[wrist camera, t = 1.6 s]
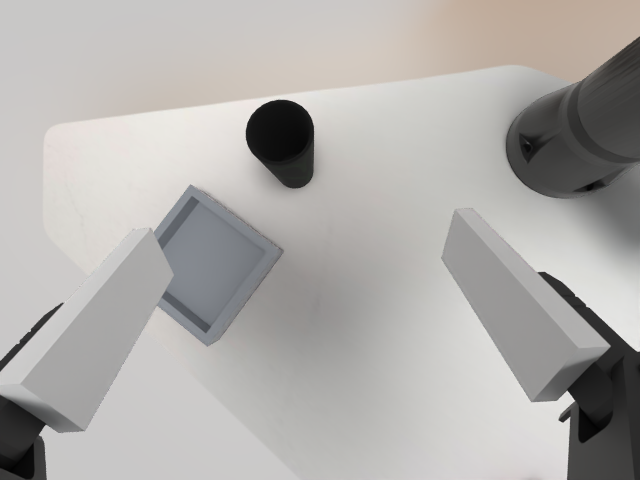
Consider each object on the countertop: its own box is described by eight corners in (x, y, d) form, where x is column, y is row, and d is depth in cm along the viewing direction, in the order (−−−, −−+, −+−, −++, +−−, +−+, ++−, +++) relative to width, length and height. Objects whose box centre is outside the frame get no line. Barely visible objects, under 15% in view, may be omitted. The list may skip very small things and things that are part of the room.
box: (202, 191, 43) (190, 184, 39) (283, 251, 41) (278, 249, 37) (138, 274, 42) (120, 275, 38) (218, 340, 40) (207, 346, 36)
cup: (268, 193, 42) (241, 162, 30) (273, 146, 43) (249, 97, 31) (318, 196, 41) (311, 166, 30) (322, 148, 42) (316, 100, 30)
